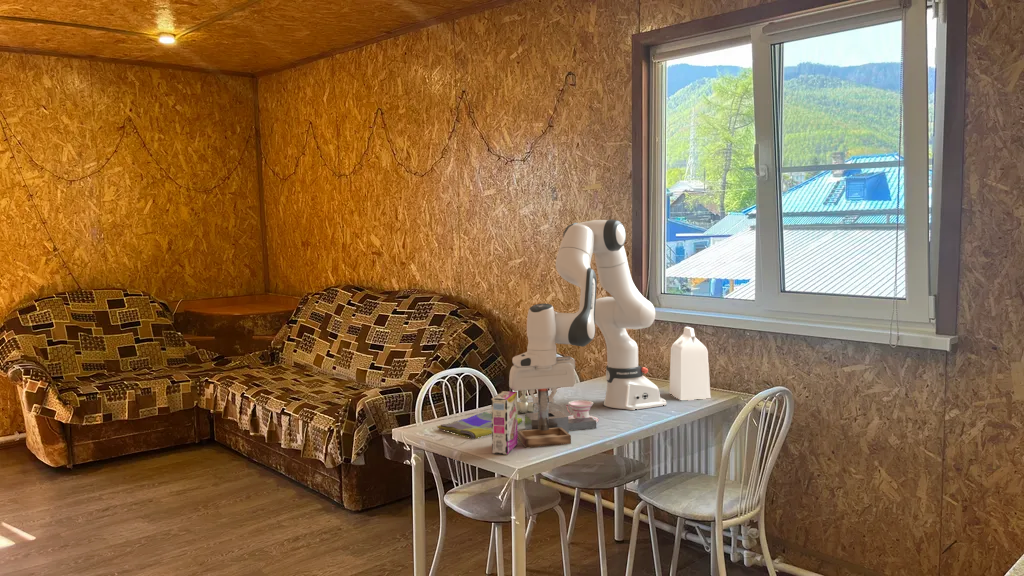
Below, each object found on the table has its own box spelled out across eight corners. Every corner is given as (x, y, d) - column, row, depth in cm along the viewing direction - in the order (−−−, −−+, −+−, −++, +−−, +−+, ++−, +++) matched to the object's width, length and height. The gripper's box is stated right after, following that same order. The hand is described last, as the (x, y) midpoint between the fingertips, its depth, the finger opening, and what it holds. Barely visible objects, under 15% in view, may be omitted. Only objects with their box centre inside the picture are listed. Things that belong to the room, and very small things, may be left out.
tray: (561, 435, 242) (561, 427, 242) (571, 443, 232) (570, 435, 232) (518, 439, 239) (517, 431, 239) (525, 447, 229) (525, 439, 229)
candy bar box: (508, 455, 222) (506, 399, 221) (491, 454, 224) (490, 398, 222) (519, 444, 233) (517, 390, 232) (503, 443, 234) (501, 390, 233)
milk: (710, 399, 285) (710, 329, 283) (680, 400, 283) (680, 330, 281) (697, 392, 297) (697, 325, 295) (669, 394, 295) (668, 326, 293)
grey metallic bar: (547, 427, 237) (546, 384, 236) (550, 430, 234) (549, 386, 233) (537, 428, 236) (536, 384, 235) (539, 430, 233) (538, 386, 232)
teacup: (600, 417, 264) (600, 399, 263) (597, 426, 252) (596, 407, 251) (565, 416, 266) (565, 398, 266) (560, 425, 254) (560, 406, 254)
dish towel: (525, 425, 257) (524, 417, 257) (472, 441, 239) (471, 432, 239) (488, 417, 269) (487, 409, 269) (434, 432, 251) (434, 424, 251)
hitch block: (589, 422, 256) (589, 408, 255) (598, 429, 247) (598, 414, 246) (524, 428, 251) (524, 413, 250) (532, 435, 242) (531, 420, 241)
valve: (532, 415, 268) (531, 381, 267) (513, 415, 269) (512, 381, 268) (535, 411, 274) (534, 377, 273) (517, 410, 276) (516, 377, 275)
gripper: (571, 354, 239) (572, 398, 240) (507, 358, 234) (508, 403, 235) (578, 357, 233) (578, 402, 234) (511, 361, 228) (513, 407, 229)
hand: (542, 402), depth 235 cm, fingers closed on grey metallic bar, 3 cm apart
